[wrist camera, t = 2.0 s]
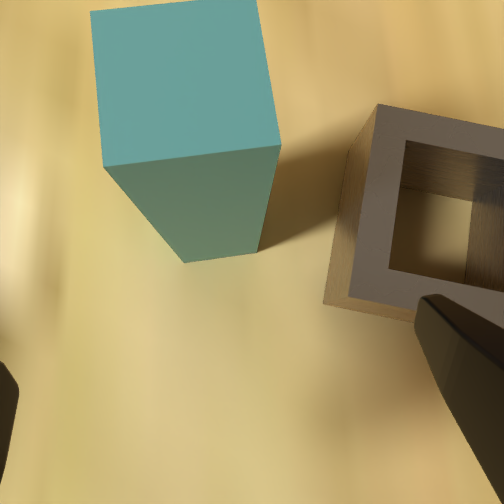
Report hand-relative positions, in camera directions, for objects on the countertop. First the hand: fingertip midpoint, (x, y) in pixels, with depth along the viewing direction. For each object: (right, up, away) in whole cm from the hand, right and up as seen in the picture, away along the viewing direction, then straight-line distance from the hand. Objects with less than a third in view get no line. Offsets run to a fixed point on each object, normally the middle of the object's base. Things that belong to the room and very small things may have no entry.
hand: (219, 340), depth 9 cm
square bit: (-1, +4, +13) cm, 14 cm away
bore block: (+10, +3, +14) cm, 17 cm away
